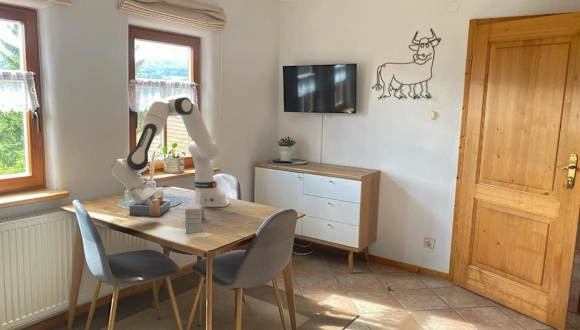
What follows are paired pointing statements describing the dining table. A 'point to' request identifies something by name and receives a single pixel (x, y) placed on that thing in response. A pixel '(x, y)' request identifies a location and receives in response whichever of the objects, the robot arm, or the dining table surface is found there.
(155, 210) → the ball
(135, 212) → the box
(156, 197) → the walnut block
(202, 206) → the round bodied animal figurine
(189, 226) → the supplement box
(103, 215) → the dining table surface
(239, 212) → the dining table surface
